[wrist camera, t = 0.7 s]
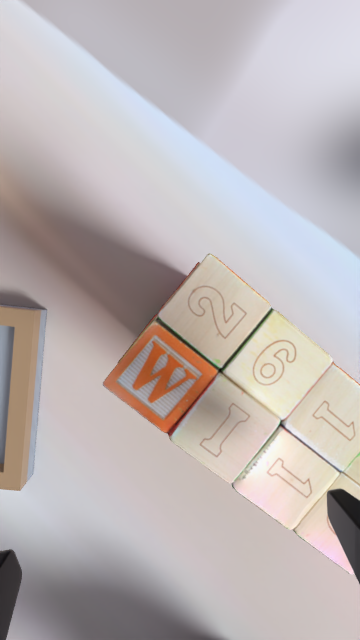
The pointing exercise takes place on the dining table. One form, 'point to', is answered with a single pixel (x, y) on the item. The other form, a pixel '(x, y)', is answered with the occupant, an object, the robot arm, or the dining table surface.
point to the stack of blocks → (248, 400)
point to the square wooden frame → (19, 391)
